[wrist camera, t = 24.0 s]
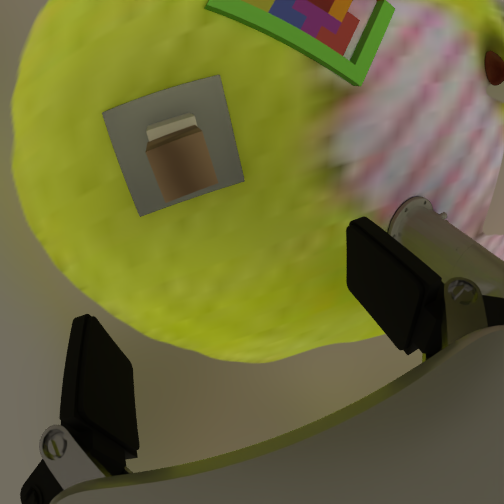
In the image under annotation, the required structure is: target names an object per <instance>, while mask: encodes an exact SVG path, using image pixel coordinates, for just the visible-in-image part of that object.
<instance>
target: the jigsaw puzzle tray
mask: <svg viewBox="0 0 504 504" xmlns="http://www.w3.org/2000/svg"><path fill="white" fill-rule="evenodd" d="M352 1H353V0H209V1H208V3H207V5H206V7H205V9H207V10H210V11H213V12H216V13H218V14H221V15H223V16H226V17H228V18H231V19H233V20H236V21H238V22H240V23H243V24H245V25H247V26H250V27H252V28H254V29H256V30H258V31H260V32H262V33H265V34H267V35H269V36H271V37H273V38H275V39H277V40H279V41H281V42H283V43H284V44H286V45H288V46H290V47H292V48H294V49H296V50H297V51H299V52H301V53H303V54H304V55H306V56H308V57H310V58H311V59H313V60H315V61H316V62H318V63H320V64H321V65H323V66H324V67H326V68H328V69H329V70H331V71H332V72H334V73H335V74H337V75H339V76H340V77H342V78H343V79H345V80H346V81H347V82H349V83H350V84H352V85H353V86H361V85H362V83H363V81H364V79H365V77H366V74H367V72H368V70H369V68H370V66H371V63H372V61H373V59H374V57H375V54H376V52H377V50H378V48H379V45H380V43H381V41H382V38H383V36H384V34H385V31H386V29H387V27H388V24H389V22H390V20H391V17H392V15H393V13H394V10H395V8H394V7H393V6H392V5H391V4H389V3H388V2H387V1H386V0H377V3H376V5H375V8H374V10H373V12H372V14H371V16H370V18H369V21H368V23H367V25H366V27H365V29H364V31H363V34H362V36H361V38H360V40H359V42H358V44H357V46H356V49H355V51H354V53H353V55H352V57H351V59H350V61H349V60H347V59H346V58H345V57H343V55H344V53H345V51H346V48H347V46H348V44H349V42H350V40H351V38H352V36H353V34H354V31H355V29H356V27H357V25H358V23H359V21H360V20H359V19H357V18H356V17H355V16H353V15H352V14H350V13H349V12H348V9H349V7H350V5H351V3H352Z"/></svg>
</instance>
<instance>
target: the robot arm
mask: <svg viewBox="0 0 504 504" xmlns="http://www.w3.org/2000/svg"><path fill="white" fill-rule="evenodd" d="M446 218H447V214H446V213H445V212H443V213H441V214H438V213H436V212H435V211H433V207H432V205H431V203H430V202H429V201H428V200H427V199H425V198H423V197H420V196H418V197H413V198H411V199H409V200H407V201H406V202H405V203H404V204H403V205H402V206H401V207H400V208H399V209H398V211H397V212H396V213H395V215H394V217H393V219H392V221H391V224H390V227H389V231H388V233H387V232H385V231H384V230H383V229H382V228H380V227H379V226H378V225H376V224H375V223H374V222H372V221H371V220H370V219H368V218H367V217H361V218H358V219H355V220H353V221H351V222H350V224H349V226H348V227H347V229H346V239H347V286H348V289H349V290H350V292H351V293H352V294H353V295H354V296H355V298H356V299H357V300H358V301H359V302H360V303H361V305H362V306H363V307H364V308H365V309H366V311H367V312H368V313H369V314H370V315H371V316H372V318H373V319H374V320H375V321H376V322H377V324H378V325H379V326H380V327H381V329H382V330H383V331H384V332H385V333H386V335H387V336H388V337H389V338H390V339H391V341H392V342H393V343H394V344H395V346H396V347H397V348H398V349H399V350H404V351H405V353H406V354H407V355H409V354H411V353H412V352H414V351H415V350H417V349H420V351H421V352H422V353H423V354H422V363H421V364H420V365H418V366H417V367H415V368H413V369H412V370H410V371H409V372H407V373H405V374H404V375H402V376H401V377H399V378H397V379H396V380H394V381H392V382H391V383H389V384H387V385H385V386H384V387H382V388H380V389H379V390H377V391H375V392H373V393H371V394H369V395H368V396H366V397H364V398H362V399H360V400H359V401H356V402H354V403H353V404H350V405H348V406H346V407H345V408H342V409H340V410H338V411H336V412H334V413H332V414H330V415H328V416H325V417H324V418H321V419H319V420H317V421H314V422H312V423H310V424H307V425H305V426H303V427H300V428H298V429H295V430H293V431H290V432H288V433H285V434H283V435H280V436H277V437H275V438H272V439H269V440H266V441H264V442H261V443H258V444H255V445H252V446H249V447H245V448H242V449H239V450H236V451H232V452H229V453H226V454H222V455H218V456H215V457H211V458H207V459H203V460H199V461H195V462H191V463H187V464H182V465H177V466H172V467H167V468H161V469H156V470H150V471H144V472H138V473H133V472H132V471H131V470H130V469H129V468H127V467H126V461H125V459H132V458H137V450H138V449H139V438H138V429H137V420H136V409H135V397H134V384H133V383H134V382H133V368H132V364H131V362H130V361H129V359H128V358H127V357H126V356H125V355H124V353H123V352H122V351H121V350H120V348H119V347H118V346H117V345H116V343H115V342H114V341H113V340H112V338H111V337H110V336H109V334H108V333H107V332H106V331H105V329H104V328H103V326H102V325H101V324H100V323H99V321H98V320H97V318H96V317H94V316H93V317H91V316H90V315H89V314H85V315H83V316H80V317H77V318H75V319H74V320H73V323H72V328H71V333H70V339H69V344H68V350H67V356H66V362H65V369H64V377H63V385H62V395H61V405H60V420H61V425H52V426H50V427H48V428H47V429H46V430H45V431H44V433H43V434H42V436H41V439H40V444H39V448H40V454H41V456H42V458H43V459H42V460H41V462H40V463H39V464H38V466H37V467H36V469H35V470H34V471H33V473H32V474H31V475H30V476H29V478H28V479H27V481H26V482H25V483H24V485H23V487H22V489H21V493H20V496H21V502H22V504H504V261H503V260H501V259H500V258H498V257H497V256H495V255H494V254H493V253H491V252H490V251H488V250H487V249H486V248H484V247H483V246H481V245H480V244H479V243H477V242H476V241H475V240H473V239H472V238H470V237H469V236H468V235H466V234H465V233H463V232H462V231H460V230H459V229H457V228H456V227H455V226H453V225H452V224H450V223H449V222H448V221H447V220H444V219H446Z"/></svg>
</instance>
